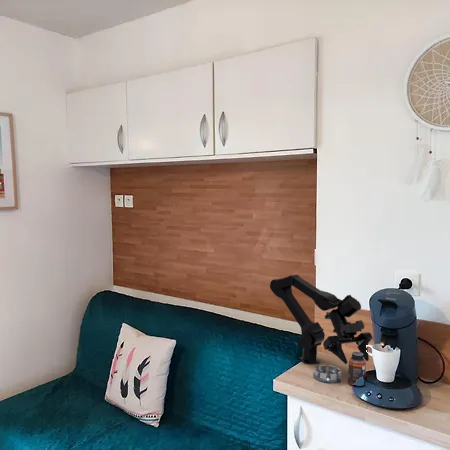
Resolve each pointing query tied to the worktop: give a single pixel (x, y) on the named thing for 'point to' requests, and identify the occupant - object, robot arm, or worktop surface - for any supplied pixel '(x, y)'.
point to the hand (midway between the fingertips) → (357, 362)
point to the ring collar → (327, 374)
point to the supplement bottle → (356, 367)
